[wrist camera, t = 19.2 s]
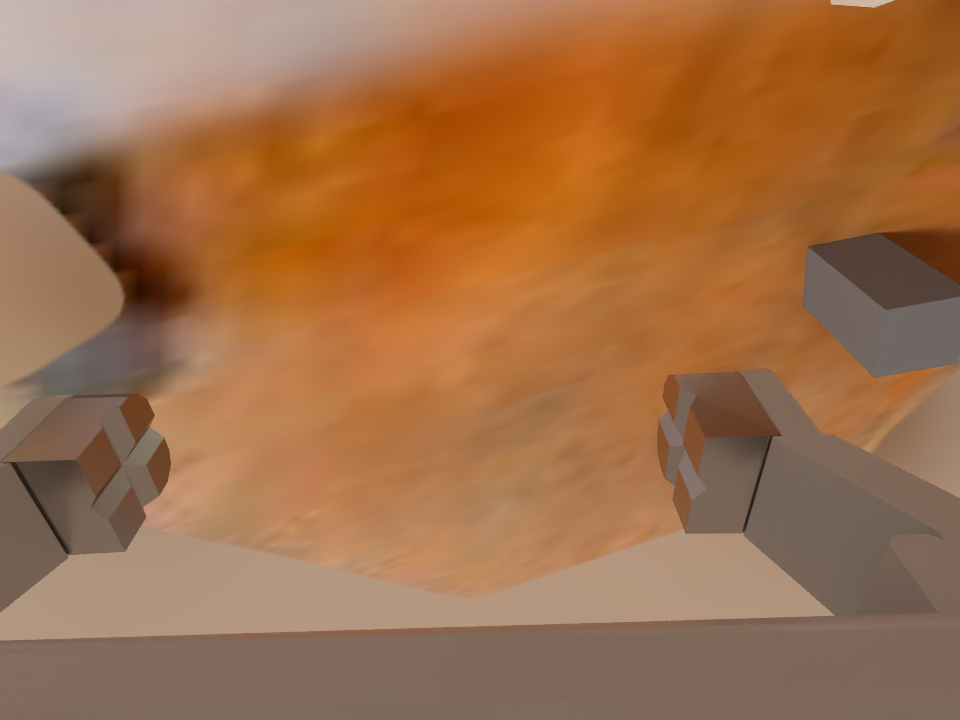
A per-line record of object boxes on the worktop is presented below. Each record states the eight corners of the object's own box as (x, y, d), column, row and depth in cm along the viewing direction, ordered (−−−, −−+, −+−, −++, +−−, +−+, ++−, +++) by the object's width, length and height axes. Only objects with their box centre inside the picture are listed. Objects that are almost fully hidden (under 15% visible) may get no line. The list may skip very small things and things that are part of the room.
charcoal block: (807, 246, 44) (885, 310, 36) (878, 232, 44) (974, 293, 35) (802, 305, 47) (874, 377, 39) (869, 293, 46) (957, 363, 38)
